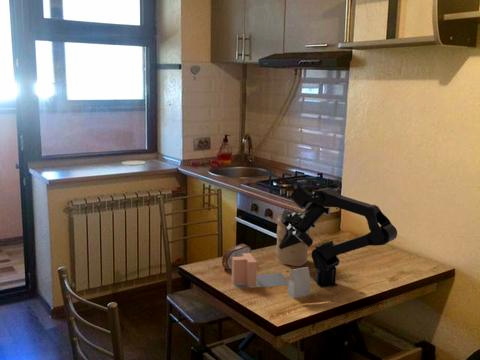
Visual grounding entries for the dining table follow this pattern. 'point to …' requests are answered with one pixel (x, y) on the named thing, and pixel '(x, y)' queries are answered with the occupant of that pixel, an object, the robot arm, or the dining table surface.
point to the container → (290, 249)
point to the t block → (244, 269)
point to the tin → (234, 254)
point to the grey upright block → (299, 282)
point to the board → (265, 281)
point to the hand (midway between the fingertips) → (279, 248)
